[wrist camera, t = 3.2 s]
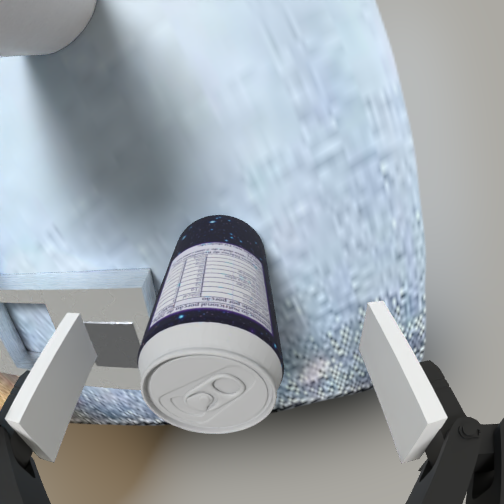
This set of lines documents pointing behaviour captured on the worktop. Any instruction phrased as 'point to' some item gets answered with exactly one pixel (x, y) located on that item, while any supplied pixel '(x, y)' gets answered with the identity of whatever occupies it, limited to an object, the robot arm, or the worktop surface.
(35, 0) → the coffee cup
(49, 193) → the worktop surface
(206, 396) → the beverage can
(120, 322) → the white compartment tray
